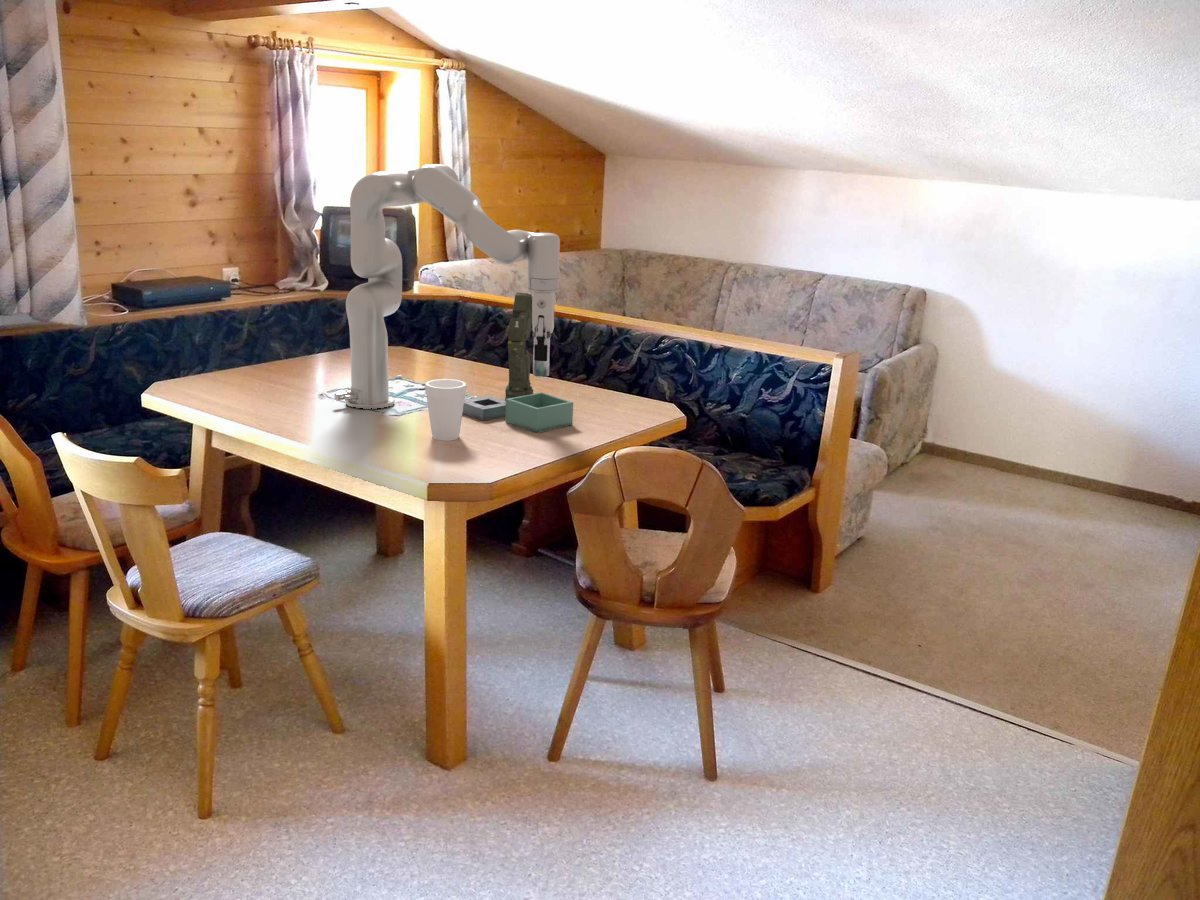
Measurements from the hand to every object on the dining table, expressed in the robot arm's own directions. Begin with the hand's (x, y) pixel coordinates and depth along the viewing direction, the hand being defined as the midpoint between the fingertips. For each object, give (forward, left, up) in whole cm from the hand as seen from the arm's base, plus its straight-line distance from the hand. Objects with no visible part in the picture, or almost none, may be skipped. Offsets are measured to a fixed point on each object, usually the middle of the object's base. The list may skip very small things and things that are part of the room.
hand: (541, 358), depth 249 cm
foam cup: (-26, +4, -17) cm, 31 cm away
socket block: (-5, +15, -17) cm, 23 cm away
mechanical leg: (+13, +23, -17) cm, 32 cm away
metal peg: (0, 0, -4) cm, 4 cm away
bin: (0, 0, -17) cm, 17 cm away
